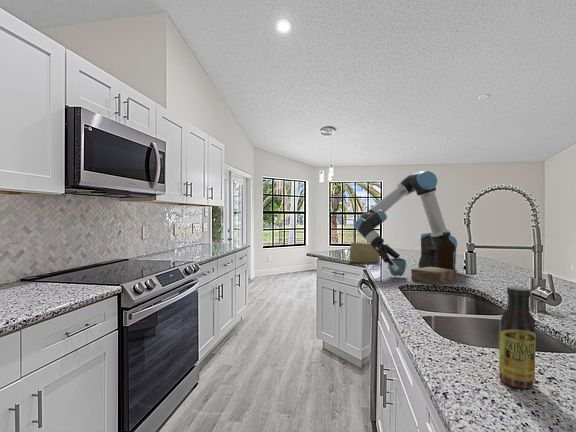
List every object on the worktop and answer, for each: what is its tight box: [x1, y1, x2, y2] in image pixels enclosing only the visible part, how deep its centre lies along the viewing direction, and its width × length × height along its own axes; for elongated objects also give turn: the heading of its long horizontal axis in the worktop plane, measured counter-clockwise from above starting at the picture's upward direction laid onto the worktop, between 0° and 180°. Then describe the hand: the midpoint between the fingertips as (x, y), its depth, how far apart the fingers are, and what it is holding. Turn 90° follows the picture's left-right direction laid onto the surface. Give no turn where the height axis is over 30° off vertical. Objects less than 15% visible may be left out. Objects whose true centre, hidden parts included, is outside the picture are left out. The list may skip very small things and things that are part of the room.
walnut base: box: [410, 267, 458, 286], centre depth 185 cm, size 16×16×6 cm
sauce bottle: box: [498, 285, 537, 389], centre depth 72 cm, size 7×6×20 cm
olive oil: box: [436, 232, 457, 270], centre depth 200 cm, size 11×11×25 cm
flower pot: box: [387, 258, 407, 277], centre depth 196 cm, size 9×9×9 cm
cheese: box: [349, 242, 381, 263], centre depth 264 cm, size 22×10×15 cm, turn 79°
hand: (401, 268), depth 194 cm, fingers closed on flower pot, 11 cm apart
